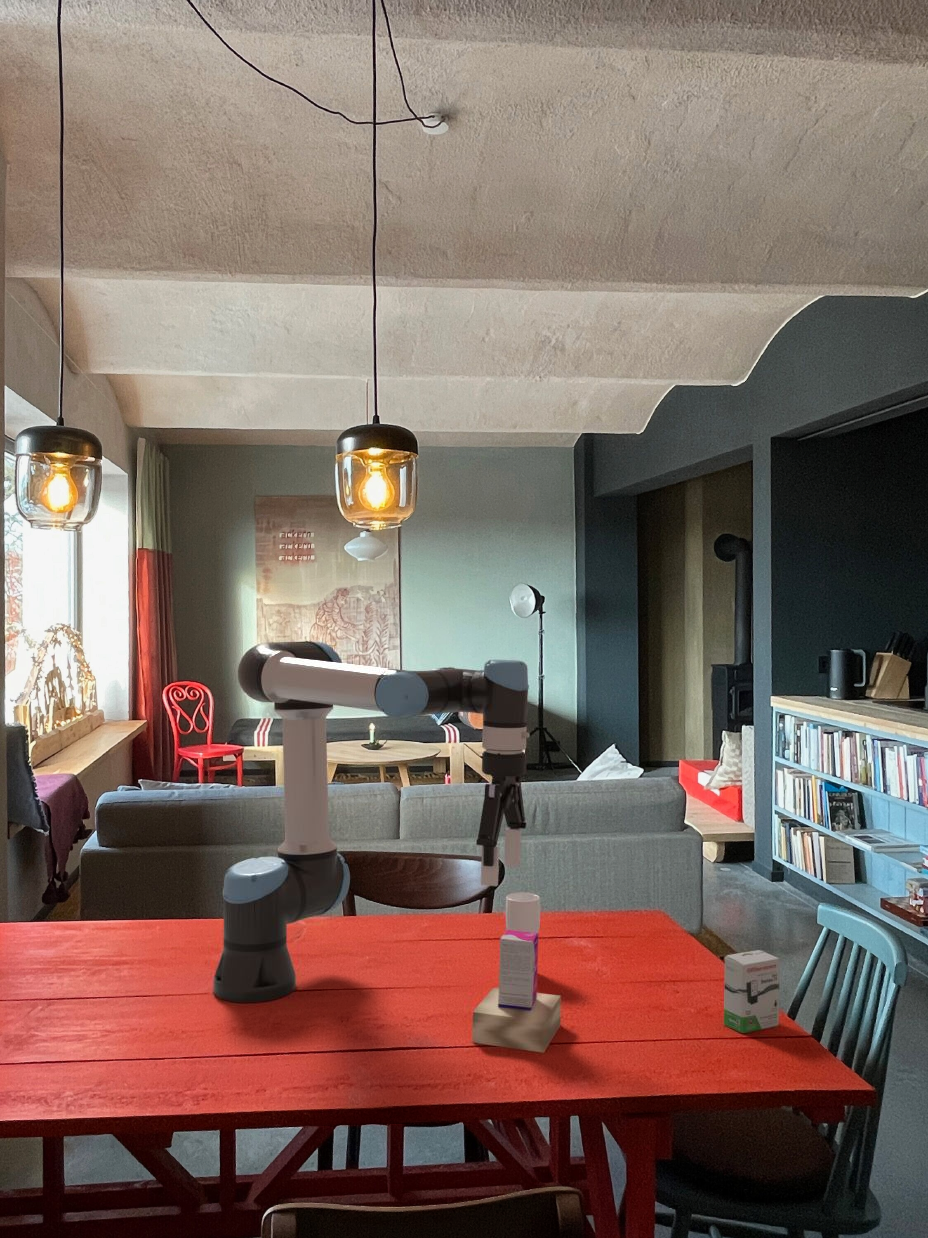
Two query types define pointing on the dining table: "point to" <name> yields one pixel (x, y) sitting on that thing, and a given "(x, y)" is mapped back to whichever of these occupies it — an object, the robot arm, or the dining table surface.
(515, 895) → the drinking glass
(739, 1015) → the ink box
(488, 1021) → the maple block
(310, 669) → the robot arm
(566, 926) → the dining table surface
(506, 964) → the supplement box
